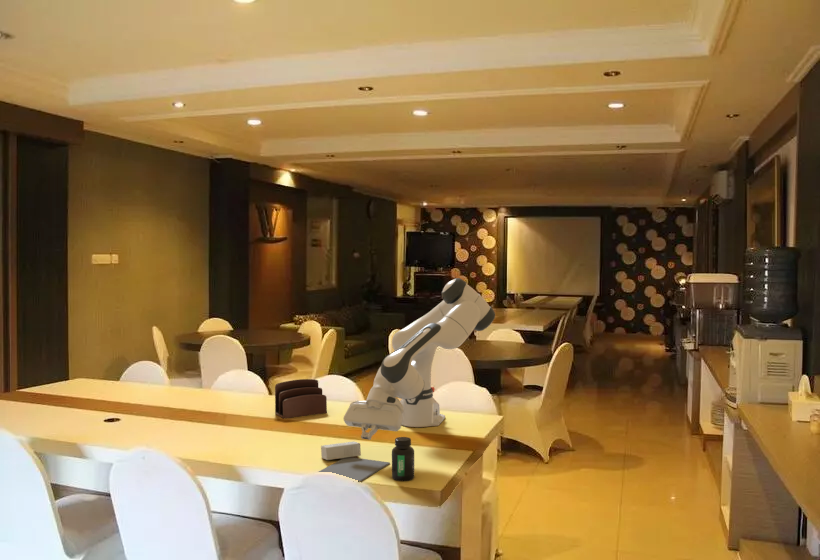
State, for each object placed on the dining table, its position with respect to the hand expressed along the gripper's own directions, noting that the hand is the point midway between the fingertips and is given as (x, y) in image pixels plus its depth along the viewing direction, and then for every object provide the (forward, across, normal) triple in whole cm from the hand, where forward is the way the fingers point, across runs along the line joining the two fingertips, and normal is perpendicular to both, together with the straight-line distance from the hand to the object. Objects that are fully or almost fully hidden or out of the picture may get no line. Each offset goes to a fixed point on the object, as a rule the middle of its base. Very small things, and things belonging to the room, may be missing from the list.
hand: (365, 438), depth 228 cm
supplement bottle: (+12, +18, -1) cm, 22 cm away
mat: (+12, 0, 0) cm, 12 cm away
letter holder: (-30, -59, +42) cm, 78 cm away
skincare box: (0, -6, +8) cm, 10 cm away
